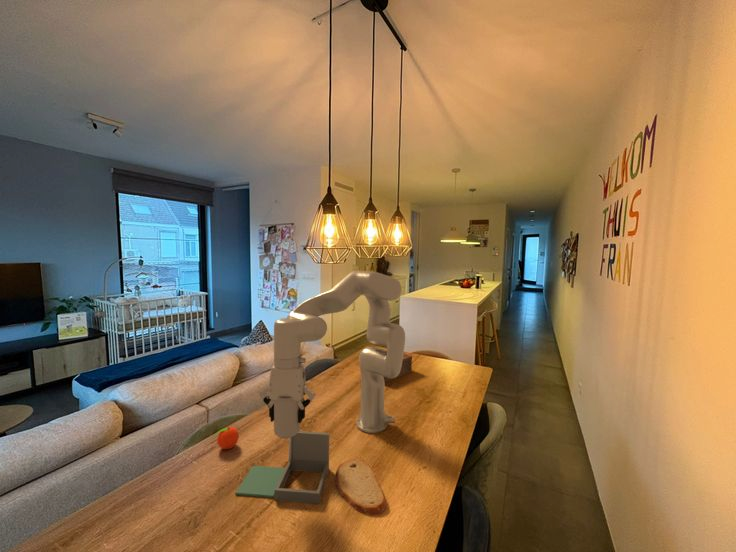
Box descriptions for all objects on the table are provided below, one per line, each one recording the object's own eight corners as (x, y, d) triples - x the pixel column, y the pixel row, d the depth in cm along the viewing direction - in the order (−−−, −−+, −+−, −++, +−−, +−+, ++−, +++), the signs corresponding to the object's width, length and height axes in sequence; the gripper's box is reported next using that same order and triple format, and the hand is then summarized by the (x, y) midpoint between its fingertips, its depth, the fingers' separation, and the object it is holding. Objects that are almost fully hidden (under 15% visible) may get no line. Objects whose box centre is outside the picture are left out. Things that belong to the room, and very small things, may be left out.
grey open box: (328, 468, 97) (329, 430, 96) (319, 503, 84) (319, 459, 83) (290, 465, 98) (290, 427, 97) (274, 500, 84) (274, 455, 83)
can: (304, 428, 92) (305, 389, 91) (291, 442, 85) (291, 401, 84) (283, 423, 94) (283, 385, 93) (268, 437, 87) (268, 396, 86)
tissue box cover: (393, 365, 188) (393, 349, 187) (411, 372, 178) (412, 356, 177) (362, 376, 171) (362, 359, 170) (380, 384, 160) (380, 366, 159)
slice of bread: (383, 520, 79) (384, 506, 79) (320, 503, 84) (320, 490, 84) (396, 472, 97) (396, 461, 96) (343, 460, 102) (343, 450, 101)
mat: (286, 469, 96) (286, 468, 96) (273, 497, 85) (273, 495, 85) (253, 467, 97) (253, 465, 97) (235, 494, 86) (235, 492, 86)
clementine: (213, 456, 102) (212, 436, 101) (214, 444, 108) (214, 425, 107) (239, 450, 105) (238, 431, 104) (238, 439, 111) (238, 420, 111)
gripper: (319, 358, 91) (319, 414, 92) (263, 355, 92) (263, 411, 93) (314, 367, 83) (313, 428, 85) (252, 364, 84) (252, 425, 86)
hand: (287, 419), depth 89 cm, fingers closed on can, 7 cm apart
